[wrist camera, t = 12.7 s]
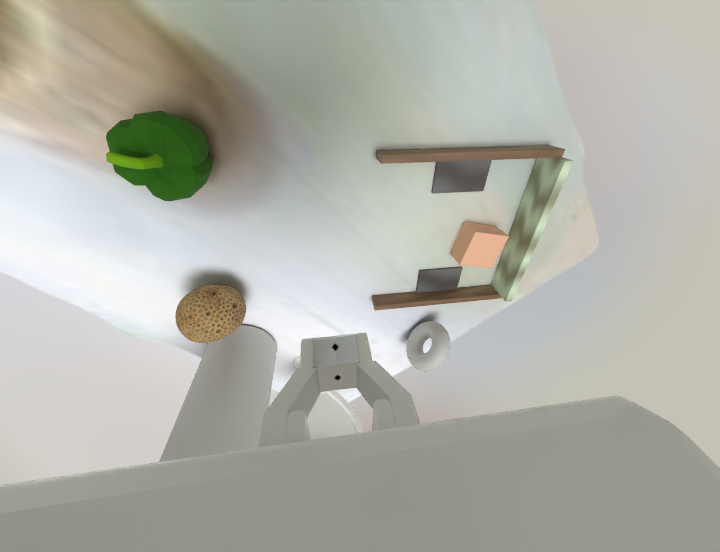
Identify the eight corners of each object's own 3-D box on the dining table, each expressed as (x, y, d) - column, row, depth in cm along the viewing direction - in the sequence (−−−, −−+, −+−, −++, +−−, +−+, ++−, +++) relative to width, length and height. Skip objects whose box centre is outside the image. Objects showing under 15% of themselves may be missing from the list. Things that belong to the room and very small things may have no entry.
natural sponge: (222, 258, 41) (199, 300, 33) (263, 294, 46) (251, 338, 38) (180, 286, 43) (149, 332, 35) (223, 317, 48) (205, 364, 40)
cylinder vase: (282, 328, 51) (260, 484, 31) (271, 367, 58) (248, 518, 38) (211, 318, 47) (134, 489, 27) (208, 362, 54) (145, 526, 34)
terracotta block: (463, 221, 43) (475, 231, 40) (495, 225, 45) (509, 236, 41) (449, 252, 47) (459, 264, 43) (479, 255, 48) (491, 268, 45)
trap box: (376, 150, 35) (384, 158, 31) (549, 145, 38) (577, 152, 34) (371, 299, 50) (376, 318, 46) (495, 288, 53) (509, 304, 49)
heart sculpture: (356, 369, 62) (369, 455, 48) (345, 381, 64) (353, 467, 50) (296, 351, 56) (290, 444, 41) (285, 364, 58) (276, 458, 43)
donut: (408, 343, 59) (423, 383, 51) (397, 338, 58) (411, 379, 50) (441, 315, 55) (463, 354, 47) (430, 309, 54) (450, 348, 46)
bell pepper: (235, 141, 32) (208, 160, 24) (206, 194, 35) (174, 226, 27) (158, 86, 28) (97, 86, 20) (134, 151, 31) (71, 174, 23)
